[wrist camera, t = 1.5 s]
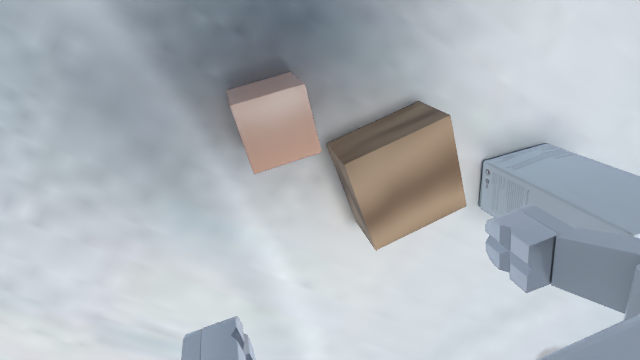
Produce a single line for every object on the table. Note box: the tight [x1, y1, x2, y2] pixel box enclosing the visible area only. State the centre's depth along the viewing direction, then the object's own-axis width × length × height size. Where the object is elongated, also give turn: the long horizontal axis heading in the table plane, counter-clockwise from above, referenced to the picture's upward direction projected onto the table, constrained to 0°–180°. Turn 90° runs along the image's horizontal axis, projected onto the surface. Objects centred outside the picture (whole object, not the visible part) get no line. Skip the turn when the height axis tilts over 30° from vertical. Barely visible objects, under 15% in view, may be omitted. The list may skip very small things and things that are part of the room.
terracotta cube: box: [227, 72, 322, 174], centre depth 26 cm, size 5×5×5 cm
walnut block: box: [327, 101, 466, 250], centre depth 31 cm, size 9×9×5 cm
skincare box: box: [479, 143, 640, 238], centre depth 32 cm, size 8×6×15 cm
